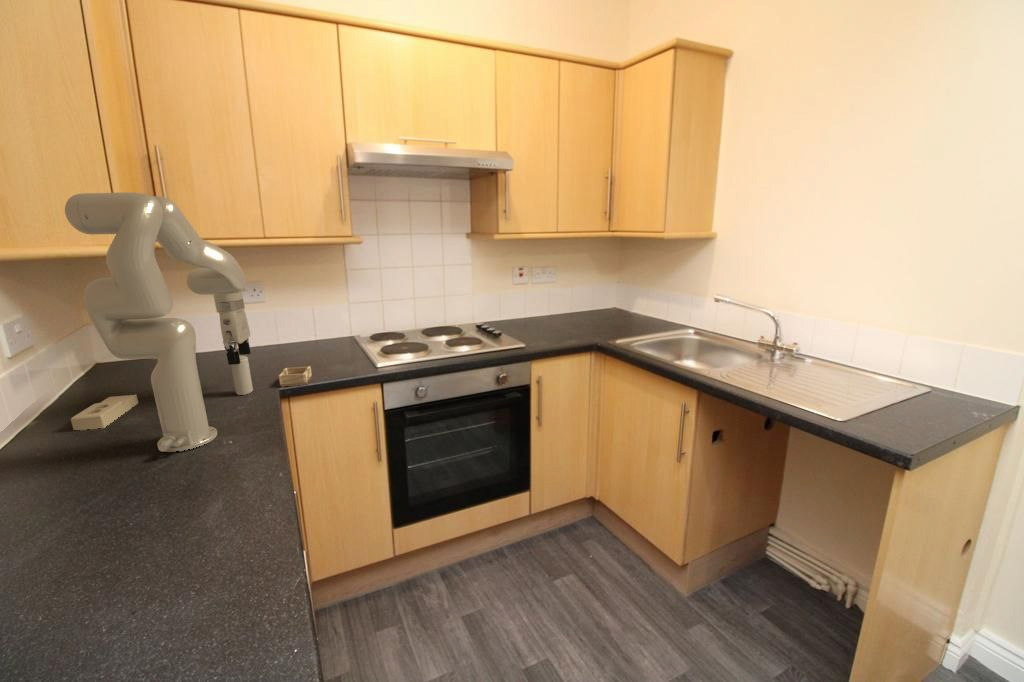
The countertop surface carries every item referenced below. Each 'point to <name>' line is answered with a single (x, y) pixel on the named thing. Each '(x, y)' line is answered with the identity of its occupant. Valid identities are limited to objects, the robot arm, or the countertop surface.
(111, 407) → the electrical outlet
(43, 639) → the countertop surface
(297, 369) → the can holder block
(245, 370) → the beverage can
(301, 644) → the countertop surface
